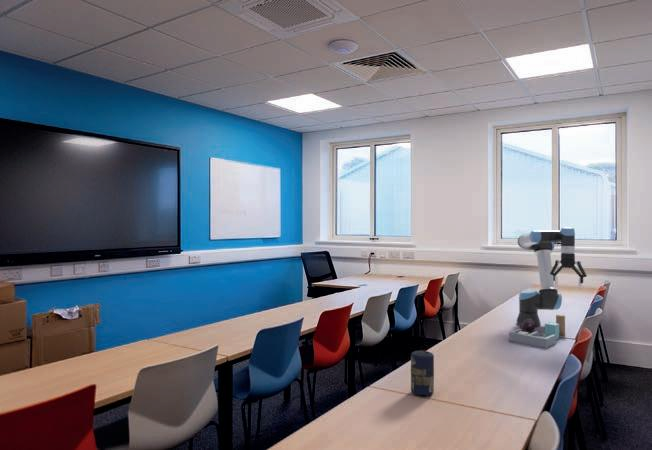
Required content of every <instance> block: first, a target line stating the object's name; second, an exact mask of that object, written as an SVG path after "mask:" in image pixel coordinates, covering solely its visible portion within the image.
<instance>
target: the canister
mask: <svg viewBox="0 0 652 450" xmlns="http://www.w3.org/2000/svg"><path fill="white" fill-rule="evenodd" d="M434 358H435V355H434V354H433V352H431V351H429V350H428V351H427V350H415V351H413V352H411V354H410V390H411V392H412V394H414V393H415V394H414V395H416V394H418V395H417V396H420V395H429V396H431V394H432V395H433V394H434V393H435V392H434V391H435V387H434V386H435V384H434V383H435V382H434V381H435V367H434V366H435V360H434Z"/></svg>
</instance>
